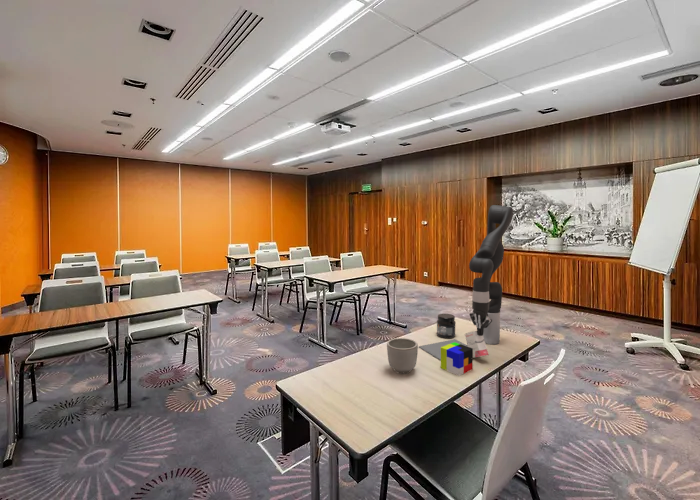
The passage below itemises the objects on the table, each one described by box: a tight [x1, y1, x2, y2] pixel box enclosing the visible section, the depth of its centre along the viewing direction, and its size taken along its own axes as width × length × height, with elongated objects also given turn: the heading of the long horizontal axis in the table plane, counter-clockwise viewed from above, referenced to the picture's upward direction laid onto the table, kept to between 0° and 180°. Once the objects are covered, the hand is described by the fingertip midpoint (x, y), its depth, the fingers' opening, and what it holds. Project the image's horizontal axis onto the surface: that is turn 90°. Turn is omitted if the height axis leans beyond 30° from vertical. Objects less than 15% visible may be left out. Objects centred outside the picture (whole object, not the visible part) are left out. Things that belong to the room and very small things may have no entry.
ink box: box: [464, 330, 489, 359], centre depth 167 cm, size 9×5×12 cm, turn 15°
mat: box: [418, 338, 468, 362], centre depth 178 cm, size 21×24×1 cm
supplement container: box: [436, 313, 457, 339], centre depth 199 cm, size 10×10×12 cm
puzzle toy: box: [440, 342, 474, 377], centre depth 157 cm, size 10×10×10 cm
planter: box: [386, 337, 419, 375], centre depth 156 cm, size 14×14×13 cm
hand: (480, 335), depth 164 cm, fingers closed
